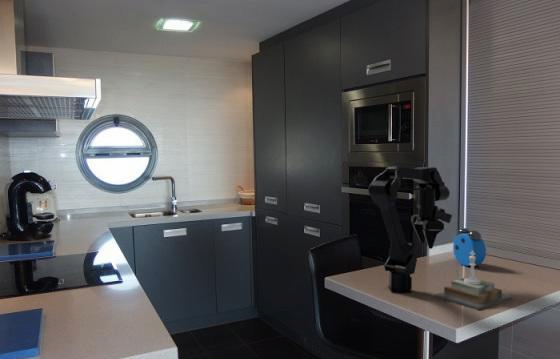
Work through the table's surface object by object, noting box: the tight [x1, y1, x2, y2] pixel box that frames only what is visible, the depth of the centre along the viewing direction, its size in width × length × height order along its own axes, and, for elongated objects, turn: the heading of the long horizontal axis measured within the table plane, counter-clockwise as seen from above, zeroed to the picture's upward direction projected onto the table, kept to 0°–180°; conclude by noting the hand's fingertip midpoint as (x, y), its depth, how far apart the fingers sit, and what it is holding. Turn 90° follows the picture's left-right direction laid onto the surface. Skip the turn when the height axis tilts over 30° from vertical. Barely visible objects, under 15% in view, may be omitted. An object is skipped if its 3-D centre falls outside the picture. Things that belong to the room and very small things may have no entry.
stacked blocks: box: [443, 276, 503, 304], centre depth 138 cm, size 12×12×4 cm
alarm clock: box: [452, 227, 487, 268], centre depth 179 cm, size 13×6×15 cm, turn 15°
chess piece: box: [464, 251, 481, 284], centre depth 138 cm, size 5×5×10 cm
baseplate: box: [433, 291, 512, 311], centre depth 138 cm, size 18×15×1 cm
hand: (426, 245), depth 155 cm, fingers open, 9 cm apart
